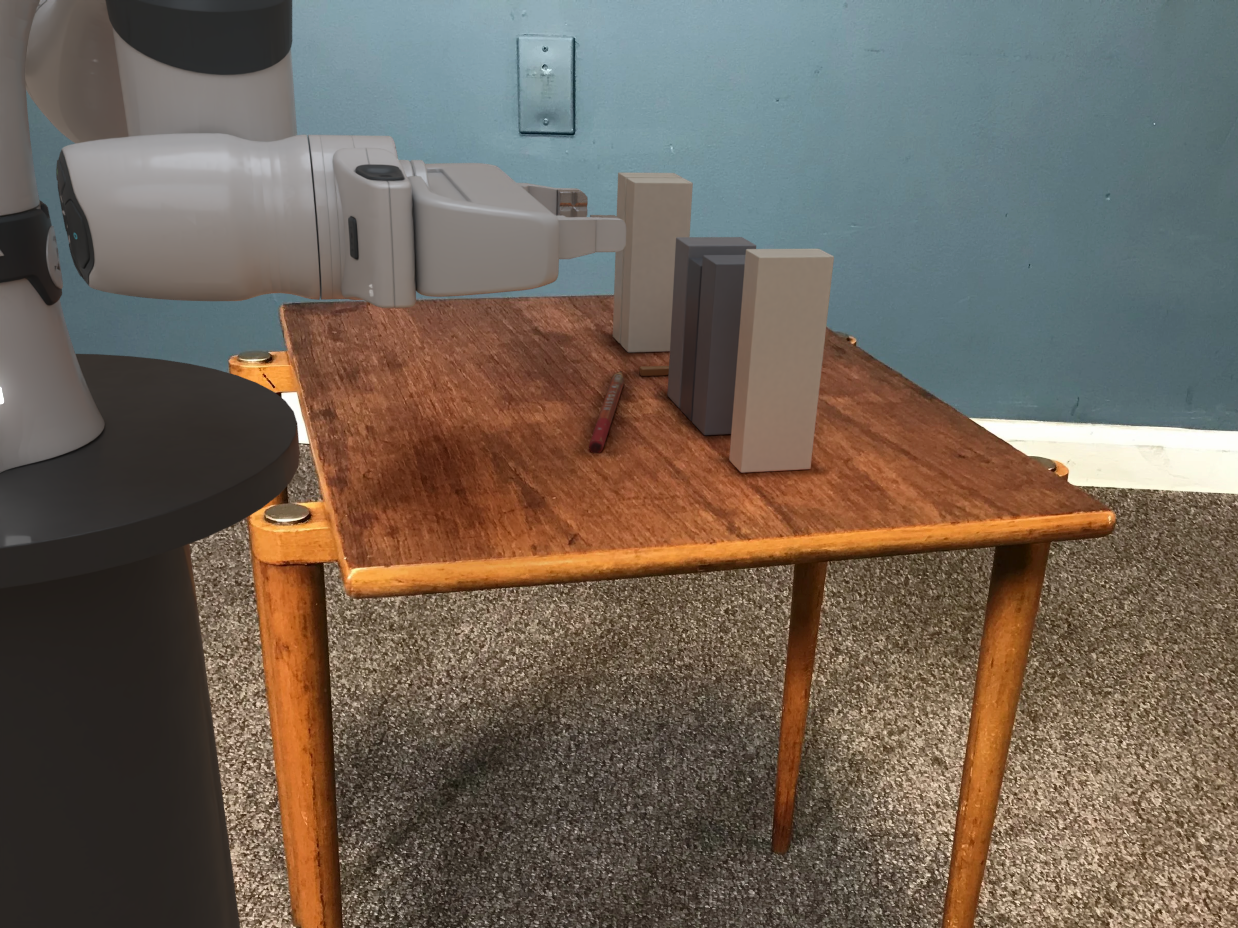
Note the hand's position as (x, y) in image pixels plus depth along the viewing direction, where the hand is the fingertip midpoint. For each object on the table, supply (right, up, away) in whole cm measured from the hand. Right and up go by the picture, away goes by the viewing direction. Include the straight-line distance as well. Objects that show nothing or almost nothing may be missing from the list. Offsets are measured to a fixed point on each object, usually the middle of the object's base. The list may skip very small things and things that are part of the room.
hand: (603, 218), depth 76 cm
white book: (+11, -13, +10) cm, 20 cm away
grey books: (+8, -8, +20) cm, 23 cm away
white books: (+4, 0, +34) cm, 34 cm away
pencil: (0, -8, +19) cm, 21 cm away
